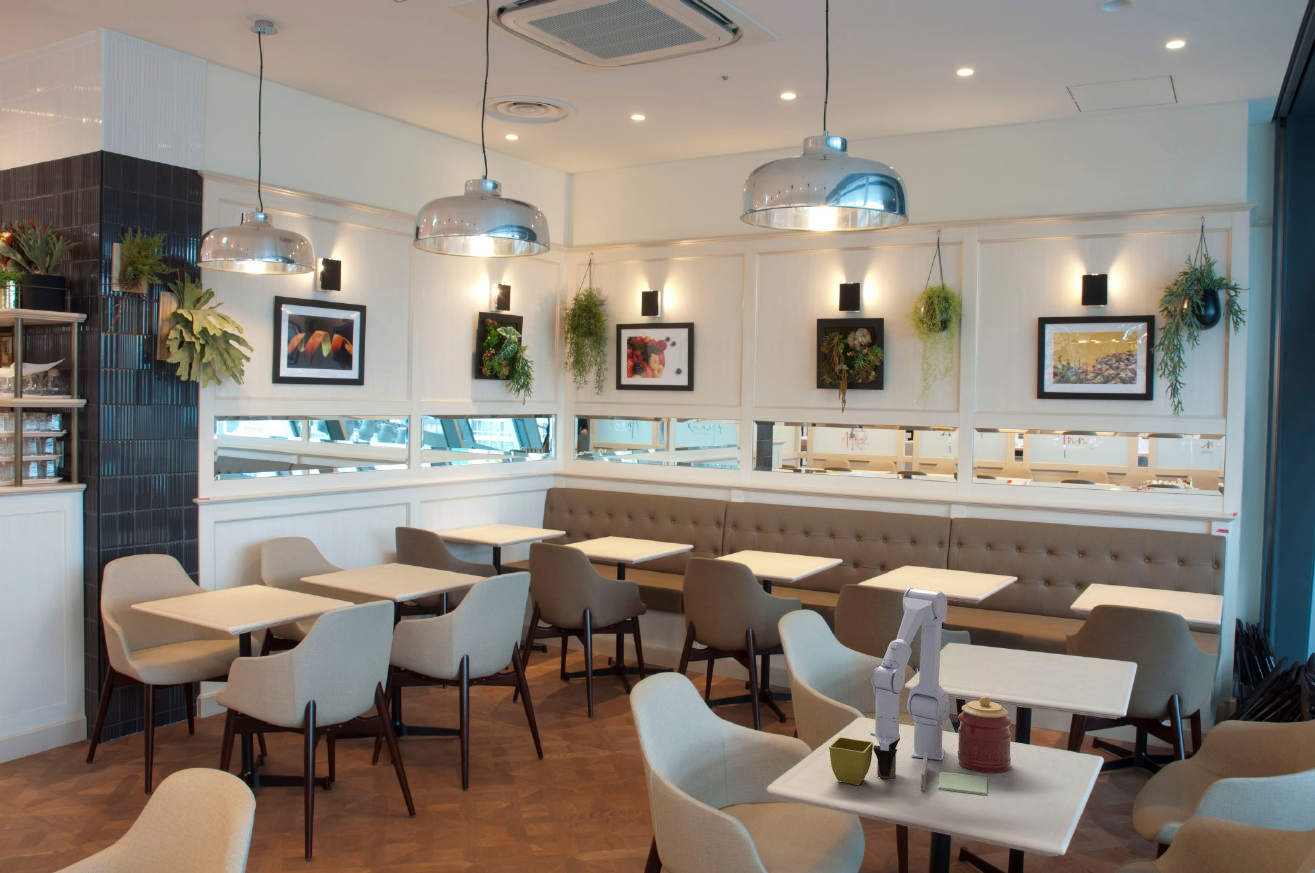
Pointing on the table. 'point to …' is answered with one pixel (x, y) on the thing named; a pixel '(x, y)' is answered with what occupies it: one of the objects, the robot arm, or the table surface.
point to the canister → (984, 737)
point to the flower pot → (850, 759)
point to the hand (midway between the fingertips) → (886, 770)
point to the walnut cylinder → (893, 770)
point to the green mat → (963, 783)
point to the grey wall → (924, 771)
